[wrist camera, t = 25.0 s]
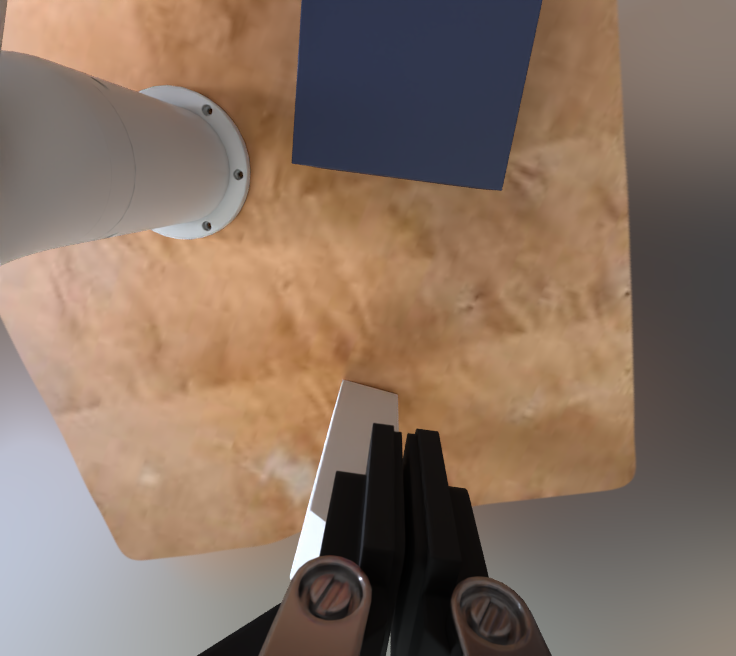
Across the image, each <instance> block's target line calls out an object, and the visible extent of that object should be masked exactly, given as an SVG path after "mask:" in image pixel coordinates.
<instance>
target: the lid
mask: <svg viewBox="0 0 736 656" xmlns="http://www.w3.org/2000/svg"><path fill="white" fill-rule="evenodd" d="M541 5H542V0H302V4H301V20H300V36H299V53H298V69H297V85H296V101H295V118H294V134H293V150H292V163H293V164H299V165H307V166H315V167H322V168H330V169H338V170H345V171H353V172H361V173H368V174H376V175H384V176H391V177H399V178H407V179H414V180H422V181H430V182H437V183H445V184H453V185H460V186H468V187H476V188H483V189H491V190H499V191H502V187H503V183H504V178H505V173H506V168H507V164H508V159H509V154H510V150H511V145H512V140H513V136H514V131H515V126H516V122H517V117H518V112H519V108H520V103H521V98H522V94H523V89H524V84H525V80H526V75H527V70H528V66H529V61H530V56H531V52H532V47H533V42H534V38H535V33H536V28H537V24H538V19H539V14H540V10H541Z"/></svg>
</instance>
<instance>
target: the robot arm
mask: <svg viewBox="0 0 736 656" xmlns="http://www.w3.org/2000/svg"><path fill="white" fill-rule="evenodd" d="M6 8H7V0H0V266H1V265H4V264H6V263H8V262H10V261H13V260H16V259H19V258H21V257H24V256H28V255H31V254H35V253H38V252H42V251H46V250H50V249H55V248H59V247H64V246H69V245H74V244H79V243H84V242H90V241H95V240H100V239H105V238H110V237H115V236H120V235H125V234H130V233H136V232H141V231H146V230H152V231H154V232H157V233H159V234H161V235H164V236H167V237H171V238H175V239H196V238H202V237H206V236H209V235H212V234H214V233H216V232H218V231H220V230H222V229H223V228H225V227H226V226H227V225H228V224H229V223H231V222H232V221H233V220H234V218H235V217H236V216H237V214H238V213H239V212H240V210H241V208H242V206H243V204H244V202H245V200H246V197H247V194H248V190H249V186H250V173H251V172H250V162H249V156H248V152H247V149H246V145H245V142H244V140H243V138H242V136H241V134H240V131H239V129H238V128H237V127H236V125H235V124H234V122H233V121H232V119H231V118H230V117H229V116H228V114H227V113H226V112H225V111H224V110H223V109H222V108H221V107H220V106H219V105H217V104H216V103H214V102H213V101H211V100H210V99H209V98H207V97H205V96H203V95H201V94H199V93H197V92H195V91H192V90H189V89H187V88H184V87H179V86H171V85H163V86H153V87H150V88H147V89H144V90H141V91H139V92H137V91H134V90H131V89H128V88H125V87H122V86H120V85H117V84H114V83H111V82H108V81H105V80H103V79H100V78H97V77H94V76H91V75H89V74H86V73H83V72H80V71H77V70H74V69H72V68H69V67H66V66H63V65H60V64H58V63H55V62H52V61H49V60H46V59H43V58H40V57H37V56H33V55H29V54H25V53H20V52H14V51H3V50H1V47H2V39H3V31H4V23H5V15H6ZM209 109H212V114H211V115H210V114H209ZM240 172H242V173H243V177H242V178H241V177H240V176H239V173H240ZM209 223H211V226H212V228H210V227H209V225H208V224H209ZM390 631H391V656H552V655H551V653H550V651H549V649H548V647H547V645H546V643H545V641H544V638H543V636H542V634H541V632H540V630H539V628H538V626H537V624H536V621H535V619H534V617H533V615H532V613H531V611H530V610H529V608H528V607H527V605H526V603H525V602H524V600H523V599H522V598H521V597H520V596H519V595H518V594H517V593H516V592H515V591H514V590H512V589H511V588H509V587H508V586H507V585H505V584H503V583H502V582H499V581H497V580H494V579H492V578H489V577H488V572H487V568H486V564H485V560H484V555H483V551H482V547H481V543H480V539H479V535H478V531H477V527H476V523H475V518H474V514H473V510H472V506H471V502H470V498H469V494H468V491H467V490H466V489H465V488H458V487H451V486H448V481H447V475H446V470H445V464H444V459H443V453H442V448H441V442H440V437H439V433H438V432H437V431H430V430H423V429H416V432H415V434H410V433H408V434H407V438H406V444H405V450H404V455H402V432H396V431H394V425H387V424H379V423H373V426H372V432H371V439H370V446H369V453H368V460H367V467H366V473H365V474H357V473H350V472H343V471H336V474H335V479H334V484H333V489H332V494H331V499H330V504H329V509H328V514H327V519H326V524H325V529H324V534H323V539H322V545H321V550H320V555H319V557H316V558H314V559H312V560H309V561H307V562H306V563H305V564H303V565H302V566H301V567H300V568H299V569H298V570H297V572H296V573H295V575H294V576H293V578H292V580H291V582H290V585H289V587H288V589H287V591H286V594H285V596H284V598H283V600H282V602H281V603H280V604H278V605H276V606H275V607H273V608H272V609H270V610H269V611H267V612H265V613H264V614H262V615H261V616H259V617H258V618H256V619H255V620H253V621H251V622H250V623H248V624H247V625H245V626H243V627H242V628H240V629H239V630H237V631H235V632H234V633H232V634H231V635H229V636H227V637H226V638H224V639H223V640H221V641H219V642H218V643H216V644H215V645H213V646H212V647H210V648H208V649H207V650H205V651H204V652H202V653H200V654H199V655H197V656H386V652H387V646H388V641H389V636H390Z"/></svg>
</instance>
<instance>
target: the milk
mask: <svg viewBox="0 0 736 656" xmlns="http://www.w3.org/2000/svg"><path fill="white" fill-rule="evenodd" d="M373 423H379V424H387V425H394V431H396V432H399V428H398V395H397V394H394V393H390V392H387V391H383V390H380V389H376V388H372V387H369V386H365V385H361V384H358V383H354V382H351V381H347V380H343V381H342V384H341V387H340V391H339V394H338V398H337V401H336V405H335V408H334V412H333V415H332V419H331V422H330V426H329V429H328V433H327V437H326V441H325V445H324V448H323V452H322V456H321V460H320V464H319V467H318V471H317V475H316V479H315V482H314V486H313V490H312V494H311V498H310V501H309V505H308V509H307V513H306V517H305V520H304V524H303V528H302V532H301V536H300V540H299V543H298V547H297V551H296V554H295V558H294V562H293V566H292V570H291V574H290V579H291V580H292V578H293V576H294V575H295V573H296V572H297V570H298V569H299V568H300V567H301V566H302V565H303V564H305V563H306V562H307V561H309V560H312V559H314V558H316V557H319V555H320V550H321V545H322V539H323V534H324V529H325V524H326V519H327V514H328V509H329V504H330V499H331V494H332V489H333V484H334V479H335V474H336V471H343V472H350V473H357V474H365V473H366V467H367V460H368V453H369V446H370V439H371V432H372V426H373Z"/></svg>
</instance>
